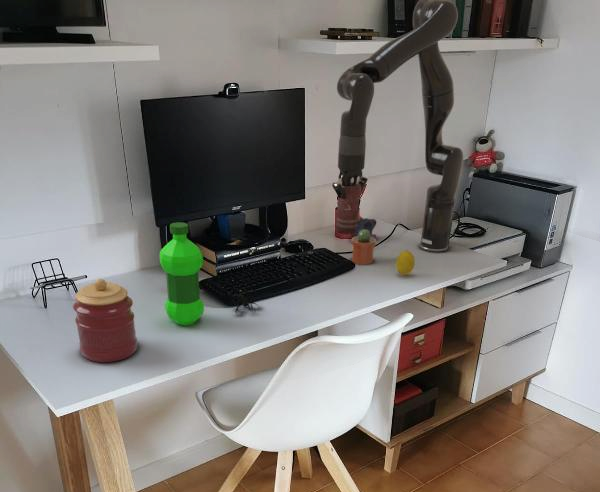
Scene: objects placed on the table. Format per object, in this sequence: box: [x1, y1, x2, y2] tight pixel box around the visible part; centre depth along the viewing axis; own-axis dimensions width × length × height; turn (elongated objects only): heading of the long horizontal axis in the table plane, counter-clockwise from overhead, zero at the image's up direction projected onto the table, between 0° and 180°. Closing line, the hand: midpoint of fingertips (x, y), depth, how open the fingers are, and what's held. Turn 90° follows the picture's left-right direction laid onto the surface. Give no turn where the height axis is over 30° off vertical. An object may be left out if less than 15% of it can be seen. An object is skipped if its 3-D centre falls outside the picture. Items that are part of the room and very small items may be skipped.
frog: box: [349, 217, 377, 240], centre depth 229 cm, size 10×12×8 cm
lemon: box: [395, 249, 415, 276], centre depth 199 cm, size 6×6×8 cm
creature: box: [227, 287, 260, 317], centre depth 174 cm, size 8×5×8 cm
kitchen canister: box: [72, 278, 138, 363], centre depth 149 cm, size 13×13×18 cm
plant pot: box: [351, 229, 377, 265], centre depth 209 cm, size 8×8×10 cm
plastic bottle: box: [158, 221, 205, 326], centre depth 162 cm, size 10×10×25 cm
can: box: [335, 184, 362, 235], centre depth 192 cm, size 6×6×14 cm
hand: (348, 212), depth 193 cm, fingers closed
